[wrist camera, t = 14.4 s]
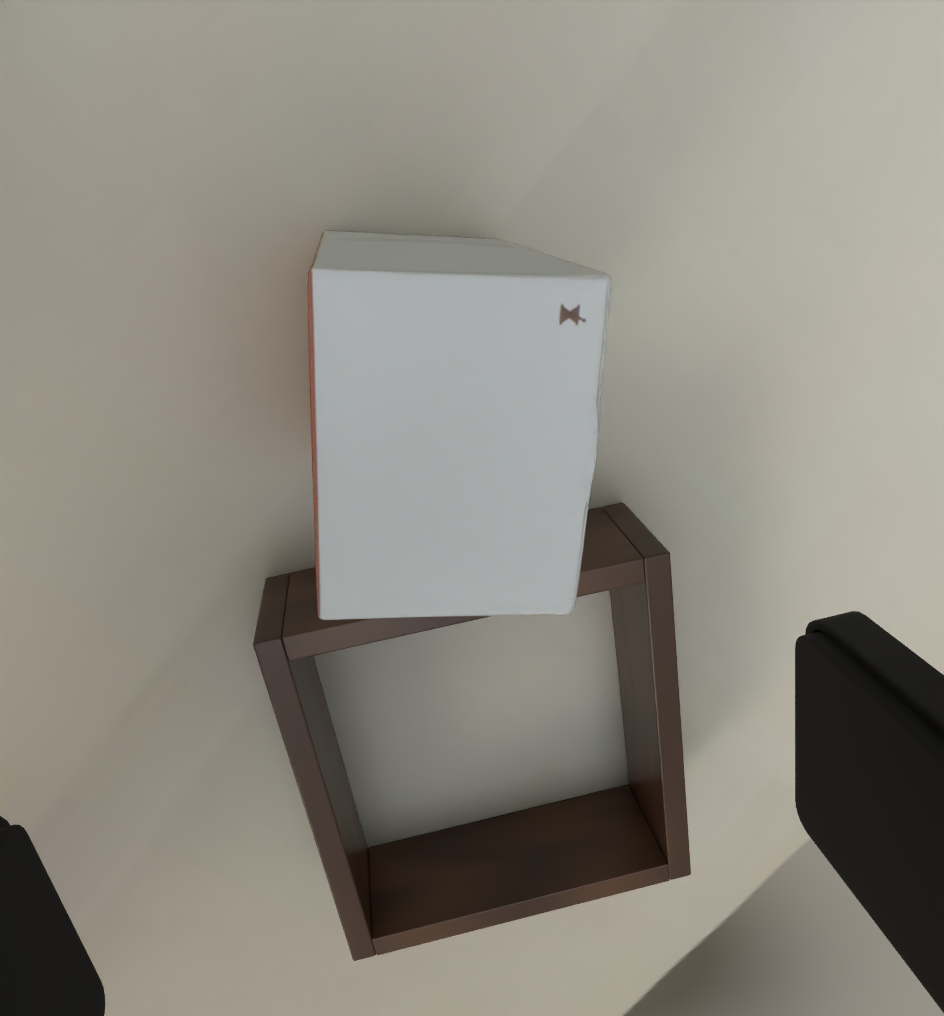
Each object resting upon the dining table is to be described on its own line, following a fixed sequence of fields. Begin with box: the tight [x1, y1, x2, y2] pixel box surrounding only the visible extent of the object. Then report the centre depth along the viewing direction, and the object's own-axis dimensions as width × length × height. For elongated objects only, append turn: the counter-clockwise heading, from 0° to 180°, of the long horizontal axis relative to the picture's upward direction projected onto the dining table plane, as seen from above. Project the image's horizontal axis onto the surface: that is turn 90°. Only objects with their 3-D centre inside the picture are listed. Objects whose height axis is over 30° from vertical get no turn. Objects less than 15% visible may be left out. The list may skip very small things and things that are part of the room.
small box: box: [308, 231, 611, 620], centre depth 23 cm, size 8×6×13 cm
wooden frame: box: [253, 503, 691, 961], centre depth 33 cm, size 15×16×5 cm
